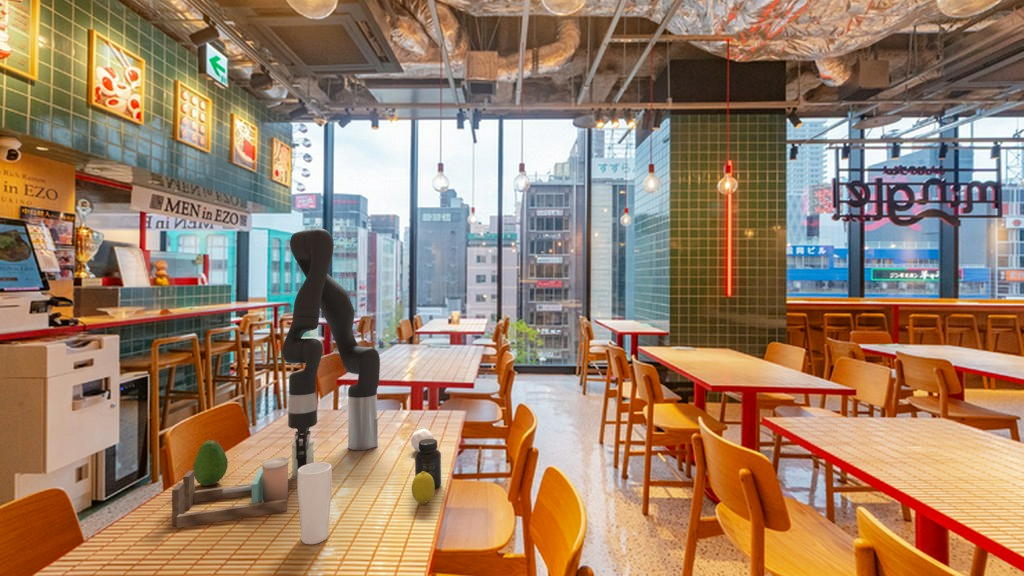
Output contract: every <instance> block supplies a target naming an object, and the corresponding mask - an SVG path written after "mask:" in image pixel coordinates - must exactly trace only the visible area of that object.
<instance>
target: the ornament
mask: <svg viewBox="0 0 1024 576" xmlns="http://www.w3.org/2000/svg"><path fill="white" fill-rule="evenodd" d="M423 439H434V435H433V434H432V433H431V431H430V430H429V429H426V428H422V429H421V428H420V427H418V428H417V430H416V431H415V432H413V434H412V436H411V438H410V442H411V446H412V447H413V449H414V450H415V451H417V452H418V451H419V441H421V440H423Z"/></svg>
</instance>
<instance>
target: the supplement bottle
mask: <svg viewBox="0 0 1024 576" xmlns="http://www.w3.org/2000/svg"><path fill="white" fill-rule="evenodd" d="M422 471H424V472H426V473H428V474H430V475H431V476H432V478H433V480H434V485H435V490H434V491H436V490H438V489H439V488H440V487H441V485H442V452H440V450H438V440H437V439H435V438H433V439H423V440H421V441H419V451H417V452H416V454H415V455H414V472H415V473H414V477H415V476H416V475H418V474H419V473H421V472H422Z"/></svg>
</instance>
